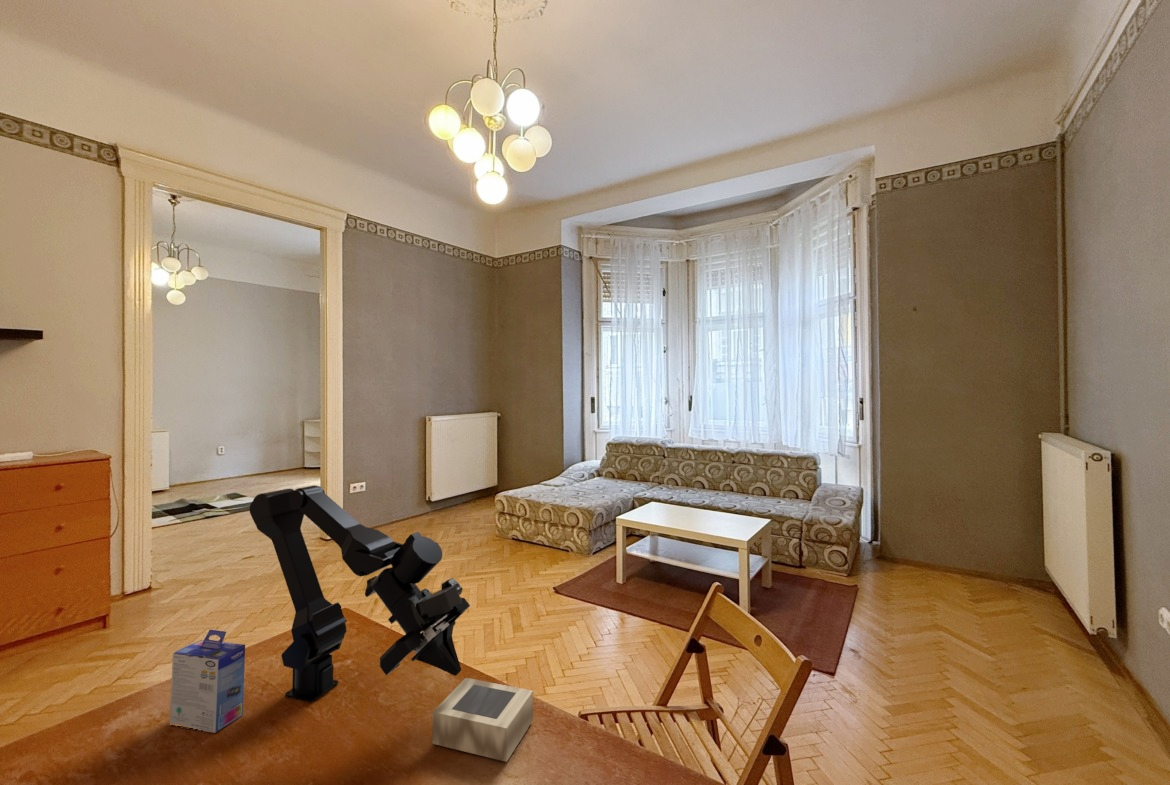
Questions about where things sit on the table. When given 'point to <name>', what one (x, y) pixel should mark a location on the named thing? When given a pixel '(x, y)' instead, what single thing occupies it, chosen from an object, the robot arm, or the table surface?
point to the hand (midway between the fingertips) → (458, 673)
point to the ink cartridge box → (207, 684)
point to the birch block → (483, 718)
